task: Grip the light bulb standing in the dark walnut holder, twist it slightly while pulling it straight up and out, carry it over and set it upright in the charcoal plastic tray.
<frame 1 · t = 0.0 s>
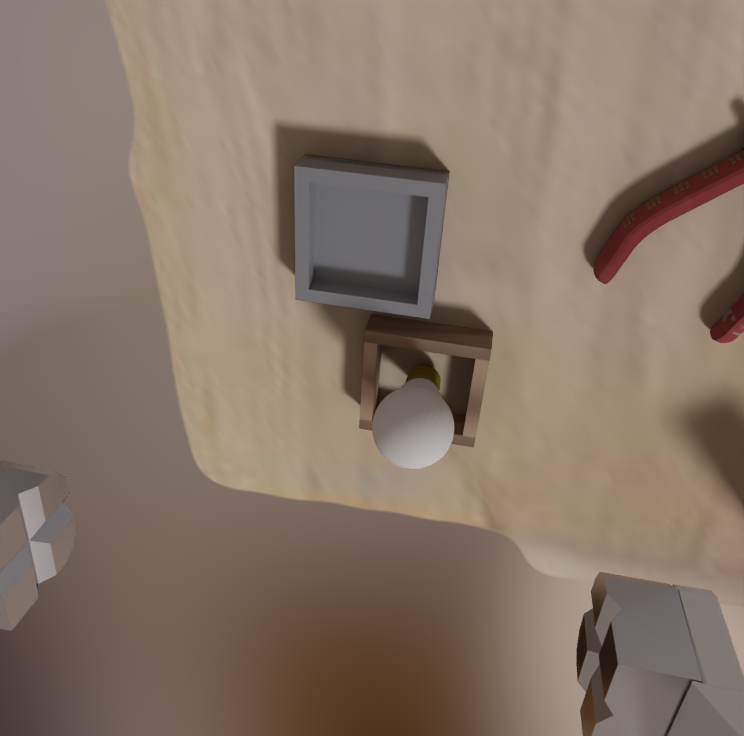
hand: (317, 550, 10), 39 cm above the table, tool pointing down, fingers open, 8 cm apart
light bulb: (425, 371, 56), resting in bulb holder
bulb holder: (425, 373, 55), on the table
tray: (372, 231, 49), on the table
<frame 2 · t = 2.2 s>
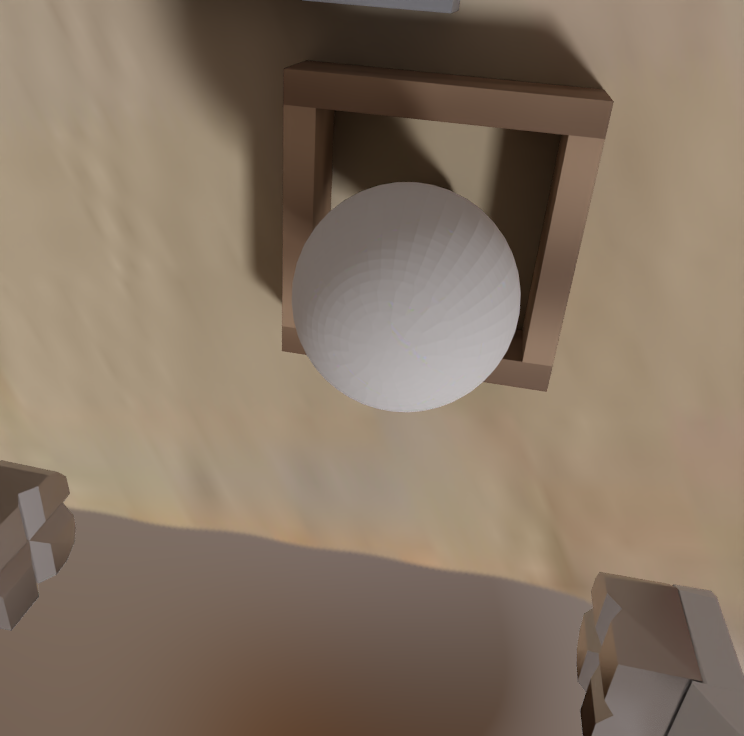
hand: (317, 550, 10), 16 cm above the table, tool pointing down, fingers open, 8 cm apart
light bulb: (434, 217, 24), resting in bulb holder
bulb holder: (434, 219, 24), on the table
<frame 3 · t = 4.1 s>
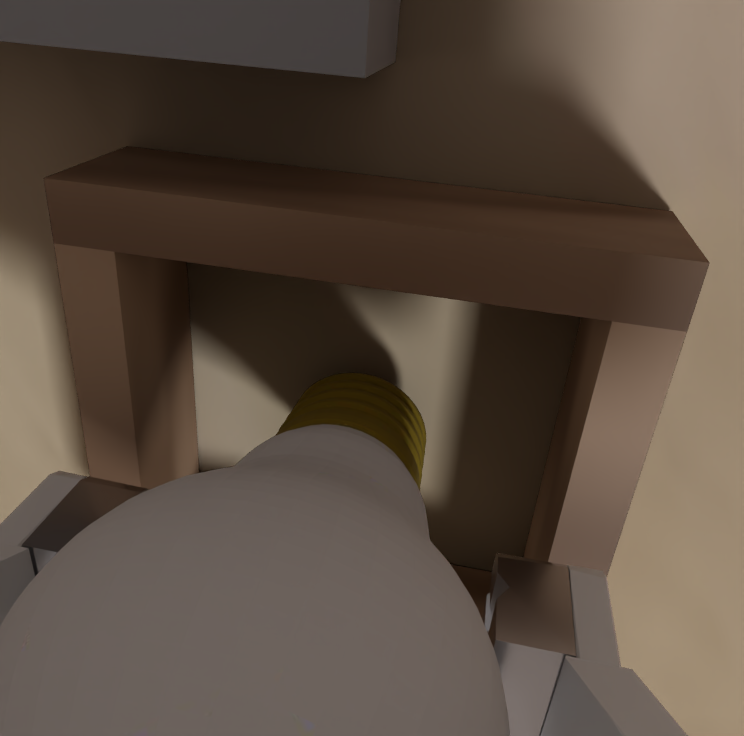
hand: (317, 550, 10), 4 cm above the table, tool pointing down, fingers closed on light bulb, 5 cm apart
light bulb: (368, 405, 14), resting in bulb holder, touching gripper
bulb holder: (366, 410, 14), on the table
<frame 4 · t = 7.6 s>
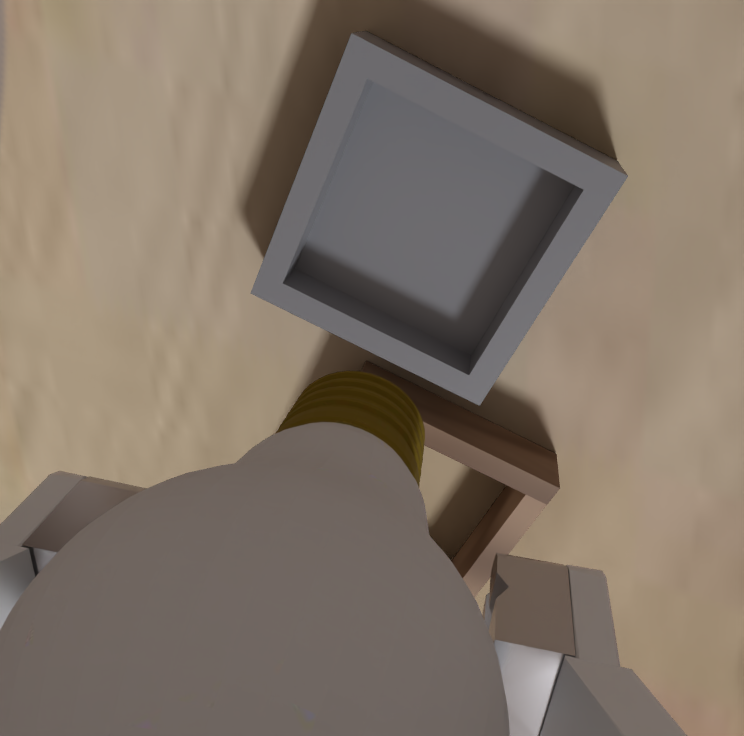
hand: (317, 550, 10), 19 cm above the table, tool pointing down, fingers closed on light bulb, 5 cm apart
light bulb: (368, 403, 14), point 14 cm above the table, touching gripper
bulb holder: (415, 481, 33), on the table
tray: (429, 220, 27), on the table
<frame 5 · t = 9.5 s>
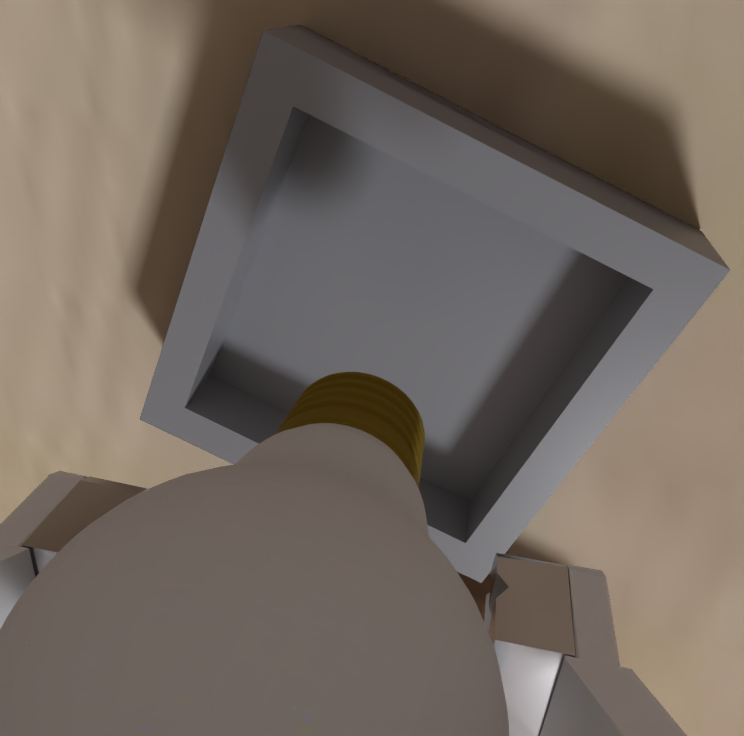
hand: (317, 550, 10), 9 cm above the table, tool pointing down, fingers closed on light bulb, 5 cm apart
light bulb: (367, 404, 14), point 4 cm above the table, touching gripper
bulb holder: (394, 643, 24), on the table
tray: (407, 311, 18), on the table
when the fingers open (6 cm above the table, at t = 11.1 s): light bulb moves 1 cm, resting on tray.
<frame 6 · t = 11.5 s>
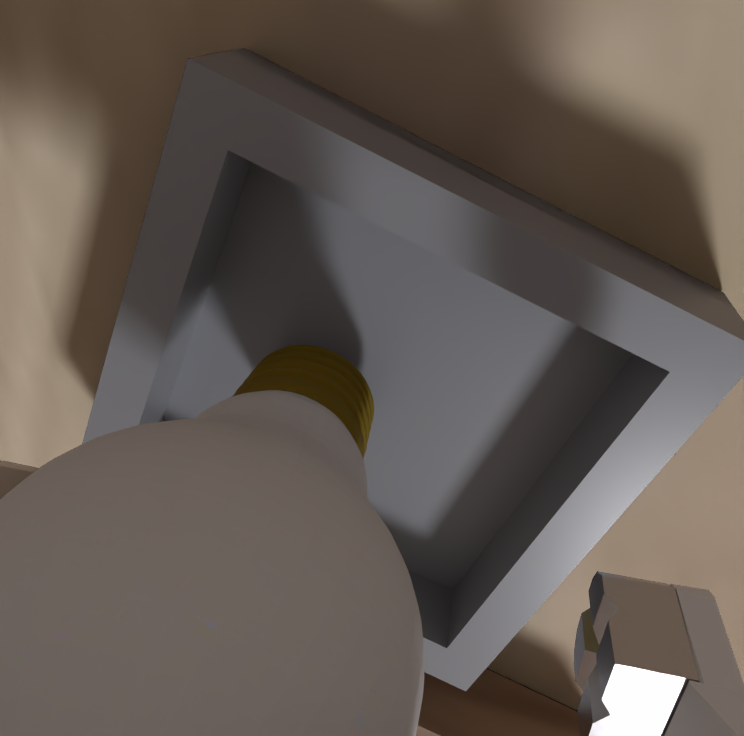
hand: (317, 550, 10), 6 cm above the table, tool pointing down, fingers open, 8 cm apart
light bulb: (322, 378, 15), point 1 cm above the table, touching gripper, tray
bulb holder: (371, 733, 21), on the table
tray: (378, 377, 15), on the table
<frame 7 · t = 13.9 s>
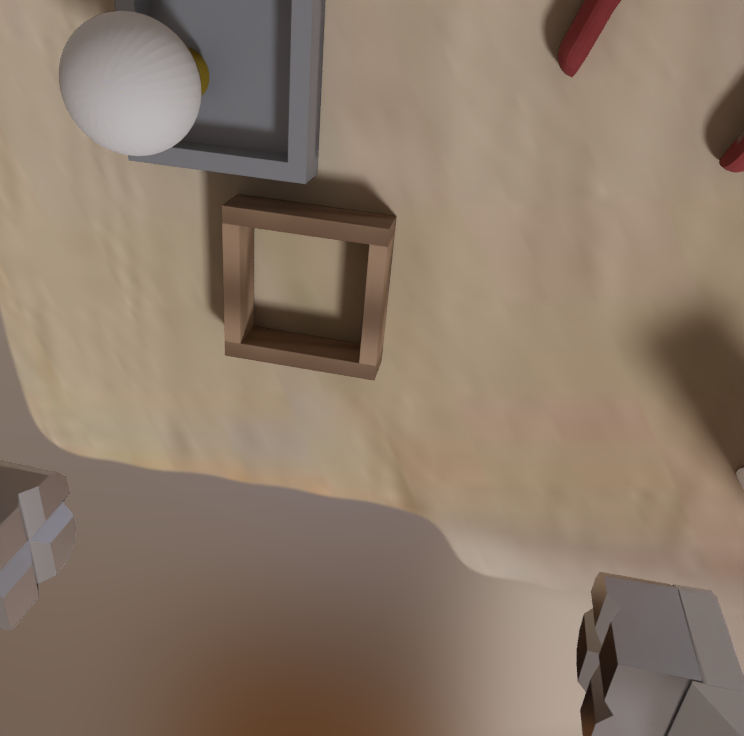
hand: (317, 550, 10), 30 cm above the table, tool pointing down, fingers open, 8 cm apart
light bulb: (192, 72, 37), point 1 cm above the table, touching tray
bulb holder: (312, 281, 42), on the table
tray: (230, 67, 37), on the table
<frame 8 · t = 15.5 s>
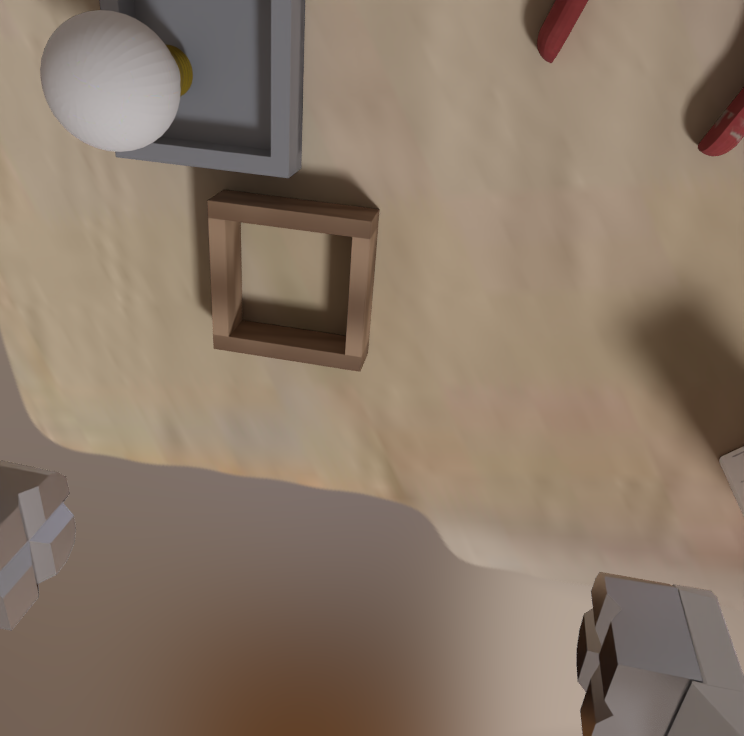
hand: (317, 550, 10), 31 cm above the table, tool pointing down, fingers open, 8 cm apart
light bulb: (177, 69, 37), point 1 cm above the table, touching tray
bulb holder: (298, 274, 43), on the table
tray: (214, 64, 38), on the table
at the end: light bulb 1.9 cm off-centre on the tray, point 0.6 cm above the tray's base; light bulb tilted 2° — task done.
